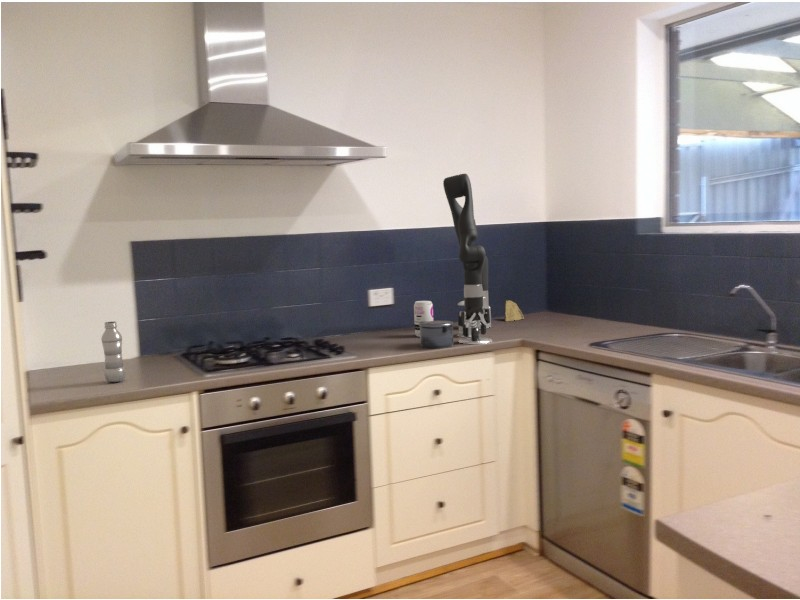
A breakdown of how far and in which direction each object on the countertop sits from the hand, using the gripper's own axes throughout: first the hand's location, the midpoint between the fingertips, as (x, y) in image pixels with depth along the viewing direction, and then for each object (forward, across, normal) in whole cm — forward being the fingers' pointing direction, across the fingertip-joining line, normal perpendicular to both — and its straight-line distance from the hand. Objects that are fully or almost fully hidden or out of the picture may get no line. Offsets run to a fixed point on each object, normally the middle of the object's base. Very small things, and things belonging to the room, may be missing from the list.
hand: (474, 335), depth 271 cm
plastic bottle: (+3, +132, -24) cm, 134 cm away
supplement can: (+3, +6, -28) cm, 29 cm away
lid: (+3, 0, 0) cm, 3 cm away
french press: (+3, -8, -15) cm, 17 cm away
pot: (+3, +16, -4) cm, 16 cm away
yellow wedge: (+3, -52, -36) cm, 63 cm away
